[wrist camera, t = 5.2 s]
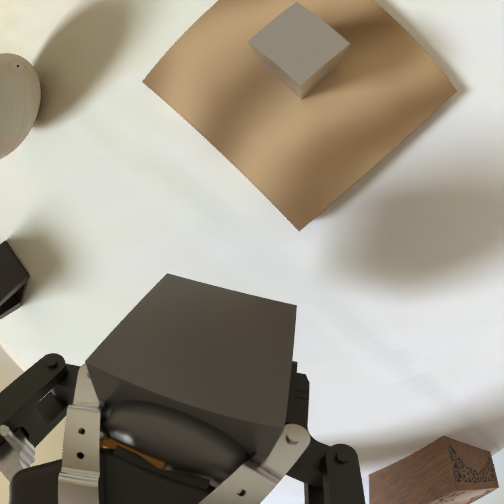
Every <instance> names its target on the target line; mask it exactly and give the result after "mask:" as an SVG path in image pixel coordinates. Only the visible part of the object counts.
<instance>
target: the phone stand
mask: <svg viewBox="0 0 504 504" xmlns="http://www.w3.org/2000/svg"><path fill="white" fill-rule="evenodd" d="M28 279H29V274H28V273H27V272H26V270H25V269H24V267H23V266H22V264H21V263H20V262H19V260H18V259H17V257H16V256H15V254H14V253H13V251H12V250H11V248H10V246H9V245H8V243H7V242H6V241H4V242H3V243H1V244H0V319H2V318H3V317H5V316H7V315H8V314H10V313H12V312H13V311H15V310H17V309H18V308H20V307H21V304H22V300H23V296H24V292H25V289H26V285H27V282H28Z"/></svg>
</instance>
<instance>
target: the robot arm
mask: <svg viewBox="0 0 504 504" xmlns="http://www.w3.org/2000/svg"><path fill="white" fill-rule="evenodd" d="M49 391H50V392H49ZM48 392H49V393H48ZM47 393H48V394H47ZM46 394H47V395H46ZM45 395H46V396H45ZM44 396H45V397H44ZM43 397H44V398H43ZM42 398H43V399H42ZM41 399H42V400H41ZM308 400H309V381H308V379H307V377H306V374H301V373H297V362H295V361H292V367H291V377H290V387H289V395H288V404H287V412H286V420H285V428H284V430H283V432H282V434H281V436H280V437H279V439H278V441H277V443H276V445H275V446H274V448H273V450H272V452H271V453H270V455H267V454H262V453H256V454H255V455H254V456H253V457H252V458H251V459H249V460H247V461H246V462H244V463H243V464H242V465H241V466H240V467H239V468H238V469H237V470H236V471H235V472H234V473H233V474H232V475H231V476H230V477H228V478H227V479H226V480H225V481H224V482H223V483H222V484H221V485H220V486H218V487H217V488H215V487H214V486H212V485H210V479H206V478H203V477H199V476H196V475H193V474H189V473H186V472H178V471H170V470H163V469H159V468H157V467H156V466H154V465H153V464H151V463H150V462H148V461H147V460H146V459H144V458H143V457H141V456H140V455H139V454H136V453H134V452H132V451H130V450H128V449H125V448H123V447H121V446H119V445H117V446H116V448H115V449H110V448H103V440H109V437H108V435H107V433H106V430H105V428H104V426H103V424H104V422H105V420H106V419H107V405H106V403H105V400H103V399H101V398H99V397H97V395H96V393H95V390H94V387H93V384H92V381H91V378H90V375H89V372H88V369H87V366H86V363H85V364H83V365H82V366H75V365H70V364H66V363H65V360H64V358H63V357H62V356H61V355H59V354H56V353H51V354H47V355H45V356H44V357H43V358H41V359H40V360H39V361H38V362H36V363H35V364H34V365H33V366H31V367H30V368H29V369H28V370H27V371H25V372H24V373H23V374H22V375H21V376H19V377H18V378H17V379H16V380H15V381H13V382H12V383H11V384H10V385H9V386H8V387H6V388H5V389H4V390H3V391H2V392H1V393H0V471H1V472H2V473H3V474H4V476H5V477H6V478H7V479H8V480H9V481H10V486H9V494H10V496H9V504H260V503H261V502H262V501H263V500H264V498H265V497H266V496H267V495H268V494H269V493H270V492H271V491H272V490H273V489H274V487H275V486H276V485H277V484H278V483H279V482H280V480H281V479H282V478H283V477H284V476H285V475H288V476H290V477H292V478H295V479H297V480H299V481H302V482H304V494H305V504H365V498H364V491H363V485H362V479H361V473H360V467H359V462H358V456H357V453H356V451H355V450H354V449H353V448H352V447H350V446H348V445H346V444H336V445H333V446H332V447H330V446H327V445H325V444H323V443H320V442H318V441H316V440H315V439H314V438H313V437H312V436H311V435H310V433H309V431H308V428H307V423H308V406H309V401H308ZM65 416H66V422H65V431H64V441H63V454H62V459H60V460H56V461H53V462H49V463H45V464H41V465H37V466H33V467H30V464H31V463H33V462H34V461H35V457H34V456H35V449H34V448H35V447H36V446H37V445H38V444H39V443H40V442H41V441H42V440H43V439H44V438H45V437H46V435H47V434H49V432H50V431H51V430H52V429H53V428H54V427H55V426H56V425H57V424H58V423H59V422H60V421H61V420H62V419H63V418H64V417H65Z"/></svg>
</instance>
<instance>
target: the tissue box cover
mask: <svg viewBox="0 0 504 504" xmlns="http://www.w3.org/2000/svg"><path fill="white" fill-rule="evenodd" d="M498 487H499V486H498V481H497V477H496V473H495V468H494V464H493V461H492V457H491V453H490V452H488V451H485V450H482V449H479V448H476V447H473V446H470V445H467V444H464V443H462V442H459V441H456V440H453V439H451V438H448V437H445V436H443V437H441V438H439V439H438V440H436V441H435V442H433V443H431V444H430V445H428V446H426V447H424V448H423V449H421V450H419V451H417V452H415V453H413V454H412V455H410V456H408V457H406V458H404V459H402V460H400V461H398V462H396V463H394V464H392V465H390V466H387V467H385V468H383V469H381V470H378V471H376V472H374V473H371V474H369V504H470V503H472V502H474V501H476V500H478V499H479V498H481V497H483V496H485V495H487V494H488V493H490V492H492V491H493V490H495V489H497V488H498Z"/></svg>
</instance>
